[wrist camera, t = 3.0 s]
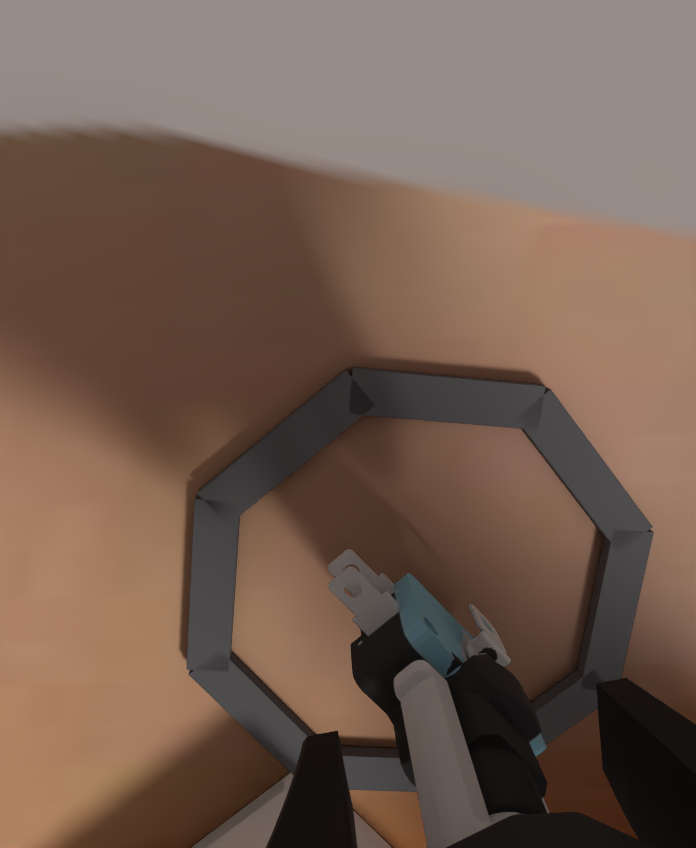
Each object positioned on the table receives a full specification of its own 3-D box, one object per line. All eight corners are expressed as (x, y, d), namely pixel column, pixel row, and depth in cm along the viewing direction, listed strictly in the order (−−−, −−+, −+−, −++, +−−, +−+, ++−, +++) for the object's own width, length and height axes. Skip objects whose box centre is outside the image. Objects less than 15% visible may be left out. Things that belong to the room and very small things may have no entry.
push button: (264, 609, 16) (176, 1131, 6) (418, 478, 15) (587, 835, 6) (426, 762, 17) (561, 1383, 8) (574, 648, 17) (930, 1171, 7)
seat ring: (712, 612, 19) (721, 619, 18) (382, 850, 20) (383, 861, 19) (460, 273, 16) (464, 273, 15) (96, 574, 17) (90, 581, 17)
